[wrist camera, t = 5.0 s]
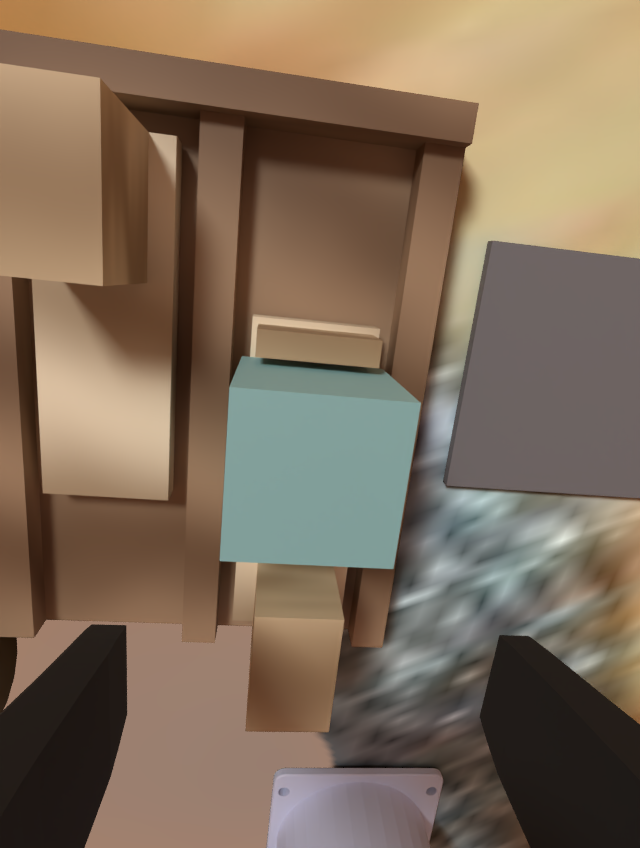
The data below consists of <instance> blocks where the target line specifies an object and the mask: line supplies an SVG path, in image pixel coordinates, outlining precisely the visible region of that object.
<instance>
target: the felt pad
mask: <svg viewBox="0 0 640 848" xmlns="http://www.w3.org/2000/svg"><path fill="white" fill-rule="evenodd" d="M443 482H444V483H445V484H446V486H460V487H475V488H491V489H506V490H521V491H536V492H552V493H567V494H582V495H597V496H613V497H628V498H640V259H637V258H629V257H620V256H612V255H604V254H596V253H588V252H580V251H572V250H564V249H555V248H547V247H539V246H531V245H523V244H515V243H507V242H499V241H488V244H487V249H486V255H485V260H484V265H483V271H482V276H481V282H480V287H479V292H478V298H477V303H476V308H475V314H474V319H473V324H472V330H471V335H470V340H469V346H468V351H467V356H466V362H465V367H464V372H463V378H462V383H461V389H460V394H459V399H458V405H457V410H456V415H455V421H454V426H453V431H452V437H451V442H450V447H449V453H448V458H447V463H446V469H445V474H444V480H443Z"/></svg>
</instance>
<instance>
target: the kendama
mask: <svg viewBox="0 0 640 848" xmlns="http://www.w3.org/2000/svg"><path fill="white" fill-rule="evenodd" d="M16 639H17V638H16V637H0V713H1V712H2V711H3V709H4V707H5V705H6V703H7V700H8V696H9V693H10V689H11V686H12V683H13V679H14V674H15V667H16V659H17V640H16Z"/></svg>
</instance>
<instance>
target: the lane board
mask: <svg viewBox="0 0 640 848" xmlns="http://www.w3.org/2000/svg"><path fill="white" fill-rule="evenodd" d="M0 63H3V64H10V65H16V66H23V67H30V68H37V69H43V70H50V71H57V72H64V73H71V74H77V75H84V76H91V77H98V78H101V79H102V81H103V82H104V83H105V84H106V85H107V86H108V87H109V88H110V90H111V91H112V92H113V93H114V94H115V95H116V96H117V97H118V99H119V100H120V101H121V102H122V103H123V104H124V105H125V106H126V107H127V109H128V110H129V111H130V112H131V113H132V114H133V115H134V116H135V118H136V119H137V120H138V121H139V122H140V123H141V124H142V125H143V126H144V128H145V129H146V130H147V131H148V132H151V133H158V134H165V135H173V136H177V137H178V139H179V140H180V141H181V143H182V178H181V215H180V253H179V291H178V329H177V367H176V404H175V442H174V480H173V491H172V493H171V495H170V497H169V500H151V499H134V498H116V497H99V496H82V495H65V494H48V493H43V487H42V467H41V448H40V428H39V409H38V390H37V370H36V351H35V332H34V312H33V293H32V279H29V278H19V277H9V276H0V637H27V638H34V637H35V635H36V634H37V633H38V631H39V630H40V628H41V627H42V625H43V624H44V622H45V621H46V620H78V621H110V622H111V621H112V622H143V623H172V624H182V642H203V643H214V642H215V638H216V632H217V626H218V625H236V626H253V621H235V620H232V618H233V603H234V588H235V573H236V562H228V561H220V545H221V527H222V509H223V492H224V474H225V456H226V439H227V421H228V403H229V387H230V384H231V382H232V379H233V377H234V374H235V372H236V370H237V367H238V365H239V362H240V360H241V357H242V356H246V357H250V349H251V334H252V319H253V315H254V314H258V315H268V316H278V317H288V318H297V319H307V320H317V321H327V322H337V323H347V324H357V325H367V326H375V327H377V328H379V329H380V334H379V339H381V340H382V341H383V344H382V351H381V358H380V365H379V368H378V369H383V370H384V371H385V372H387V373H388V374H389V375H390V376H391V377H392V378H393V379H394V380H396V381H397V382H398V383H399V384H400V385H401V386H402V387H403V388H405V389H406V390H407V391H408V392H409V393H410V394H411V395H412V396H414V397H415V398H416V399H417V400H418V401H419V402H420V403H421V406H420V412H419V419H418V425H417V431H416V437H415V443H414V449H413V455H412V461H411V467H410V473H409V479H408V485H407V491H406V497H405V503H404V509H403V515H402V521H401V527H400V533H399V539H398V545H397V551H396V557H395V563H394V569H380V568H359V567H348V568H347V575H346V583H345V590H344V597H343V604H342V611H343V616H344V626H343V629H348V632H349V636H350V641H351V646H352V647H382V645H383V639H384V633H385V627H386V621H387V615H388V609H389V603H390V597H391V591H392V585H393V579H394V573H395V567H396V561H397V555H398V549H399V543H400V537H401V531H402V525H403V519H404V513H405V507H406V501H407V495H408V489H409V483H410V477H411V471H412V465H413V459H414V453H415V447H416V441H417V435H418V429H419V423H420V417H421V411H422V405H423V399H424V393H425V387H426V381H427V375H428V369H429V363H430V357H431V351H432V345H433V339H434V333H435V327H436V321H437V315H438V309H439V304H440V298H441V292H442V286H443V280H444V274H445V268H446V262H447V256H448V250H449V244H450V238H451V232H452V226H453V220H454V214H455V208H456V202H457V196H458V190H459V184H460V178H461V172H462V166H463V160H464V154H465V148H466V147H467V146H469V145H470V144H472V140H473V134H474V128H475V122H476V117H477V111H478V105H479V103H473V102H466V101H460V100H453V99H447V98H440V97H434V96H427V95H421V94H414V93H408V92H401V91H395V90H388V89H382V88H375V87H369V86H363V85H356V84H350V83H343V82H337V81H330V80H324V79H317V78H311V77H304V76H298V75H291V74H285V73H278V72H272V71H265V70H259V69H253V68H246V67H240V66H233V65H227V64H220V63H214V62H207V61H201V60H194V59H188V58H181V57H175V56H168V55H162V54H155V53H149V52H142V51H136V50H130V49H123V48H117V47H110V46H104V45H97V44H91V43H84V42H78V41H71V40H65V39H58V38H52V37H45V36H39V35H32V34H26V33H19V32H13V31H7V30H0Z"/></svg>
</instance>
